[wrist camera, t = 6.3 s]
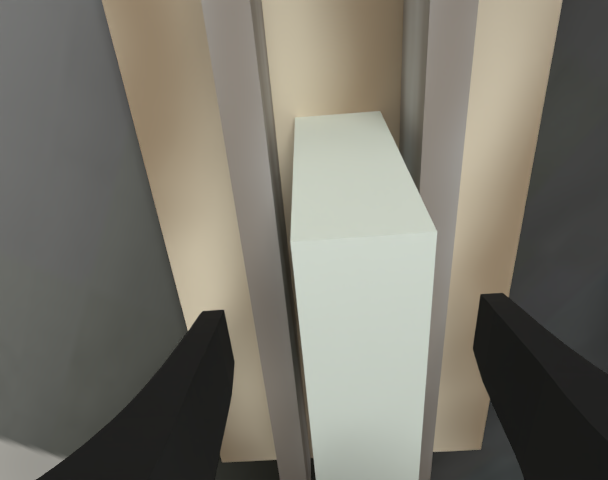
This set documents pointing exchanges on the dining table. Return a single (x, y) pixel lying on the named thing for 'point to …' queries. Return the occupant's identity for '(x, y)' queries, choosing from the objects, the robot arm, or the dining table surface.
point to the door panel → (361, 296)
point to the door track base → (279, 172)
